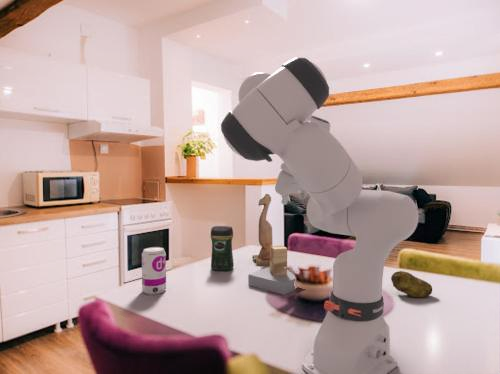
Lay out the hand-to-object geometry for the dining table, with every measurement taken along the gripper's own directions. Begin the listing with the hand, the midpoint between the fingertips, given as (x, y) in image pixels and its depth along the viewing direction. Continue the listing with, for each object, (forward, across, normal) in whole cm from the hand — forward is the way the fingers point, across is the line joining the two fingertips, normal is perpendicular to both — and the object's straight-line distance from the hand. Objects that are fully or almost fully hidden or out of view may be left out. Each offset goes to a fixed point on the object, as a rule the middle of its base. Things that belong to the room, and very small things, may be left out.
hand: (292, 200), depth 121 cm
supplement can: (+41, +37, -20) cm, 59 cm away
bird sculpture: (+46, -19, -16) cm, 52 cm away
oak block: (+30, 0, +4) cm, 30 cm away
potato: (+19, -23, +43) cm, 52 cm away
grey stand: (+34, 0, +5) cm, 34 cm away
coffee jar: (+46, +2, -22) cm, 51 cm away
